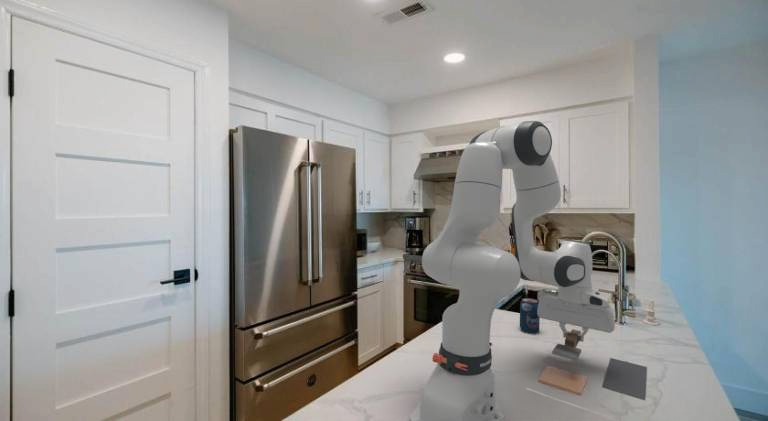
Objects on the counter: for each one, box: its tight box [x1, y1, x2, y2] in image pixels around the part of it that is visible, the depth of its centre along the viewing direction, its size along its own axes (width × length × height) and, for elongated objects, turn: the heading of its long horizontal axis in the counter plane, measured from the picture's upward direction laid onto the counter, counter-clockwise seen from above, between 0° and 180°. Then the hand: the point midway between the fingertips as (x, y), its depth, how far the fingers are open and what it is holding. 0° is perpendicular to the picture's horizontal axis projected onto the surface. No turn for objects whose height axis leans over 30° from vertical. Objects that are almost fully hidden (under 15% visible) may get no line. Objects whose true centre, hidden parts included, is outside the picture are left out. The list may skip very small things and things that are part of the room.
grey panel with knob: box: [551, 329, 582, 362], centre depth 97 cm, size 18×6×2 cm, turn 140°
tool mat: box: [601, 357, 648, 401], centre depth 92 cm, size 22×9×1 cm, turn 140°
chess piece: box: [642, 298, 660, 326], centre depth 137 cm, size 5×5×10 cm
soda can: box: [519, 297, 541, 335], centre depth 126 cm, size 7×7×12 cm
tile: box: [538, 365, 588, 396], centre depth 90 cm, size 2×10×10 cm
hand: (573, 339), depth 100 cm, fingers closed on grey panel with knob, 2 cm apart
